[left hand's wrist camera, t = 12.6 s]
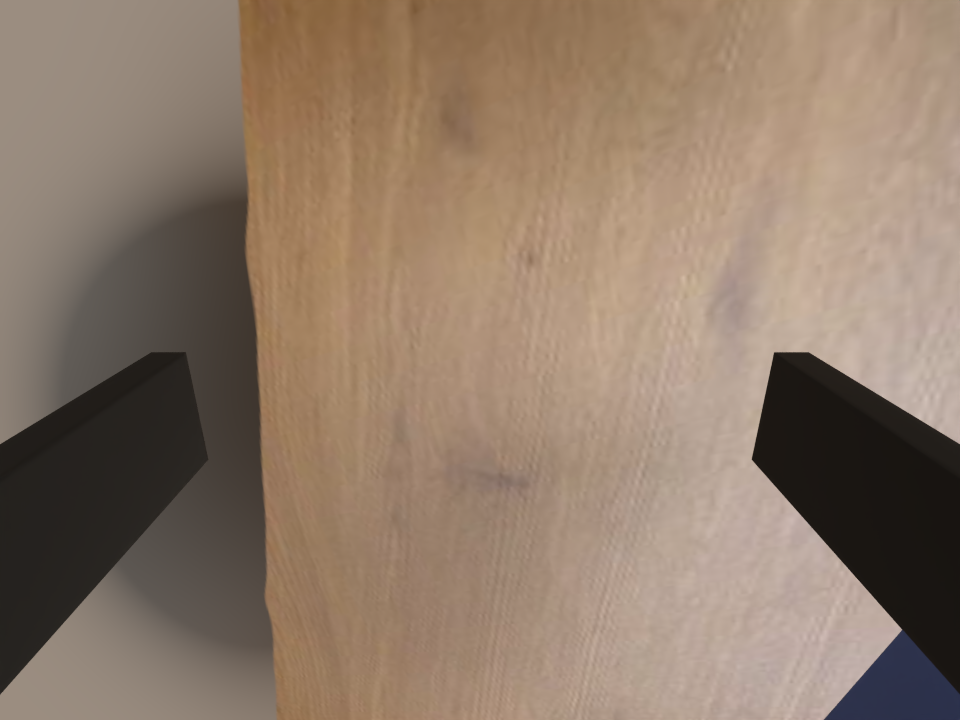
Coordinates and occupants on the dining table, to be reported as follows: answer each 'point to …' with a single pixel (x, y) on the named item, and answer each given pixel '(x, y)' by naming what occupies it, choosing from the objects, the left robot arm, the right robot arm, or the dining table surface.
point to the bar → (900, 689)
